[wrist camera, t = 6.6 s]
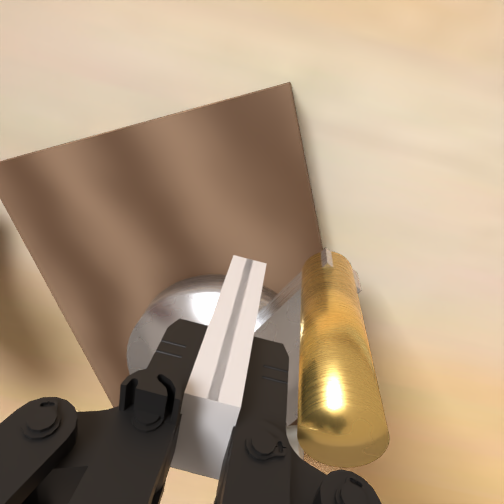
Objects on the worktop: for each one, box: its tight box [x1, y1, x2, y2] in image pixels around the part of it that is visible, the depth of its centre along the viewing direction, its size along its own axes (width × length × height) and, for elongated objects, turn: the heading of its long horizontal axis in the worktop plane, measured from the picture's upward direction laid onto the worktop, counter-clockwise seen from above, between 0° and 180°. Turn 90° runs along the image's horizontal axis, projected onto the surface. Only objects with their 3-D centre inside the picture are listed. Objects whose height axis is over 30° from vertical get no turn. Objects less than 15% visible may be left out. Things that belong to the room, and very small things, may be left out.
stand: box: [0, 82, 323, 460], centre depth 23 cm, size 17×24×5 cm
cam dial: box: [127, 248, 389, 468], centre depth 18 cm, size 16×11×11 cm
